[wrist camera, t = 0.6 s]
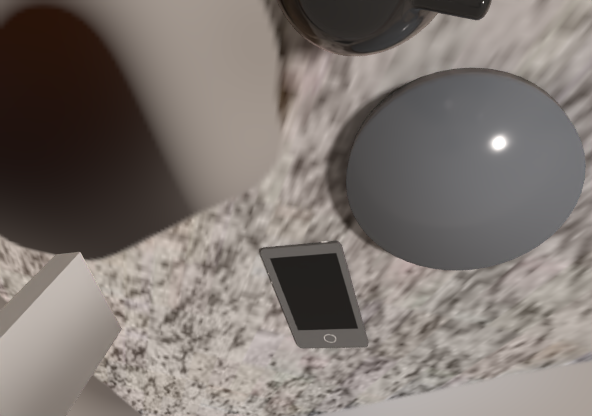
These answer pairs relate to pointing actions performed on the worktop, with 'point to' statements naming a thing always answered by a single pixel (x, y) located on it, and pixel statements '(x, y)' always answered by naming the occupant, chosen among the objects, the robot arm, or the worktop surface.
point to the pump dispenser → (370, 21)
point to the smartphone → (316, 294)
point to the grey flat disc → (465, 169)
